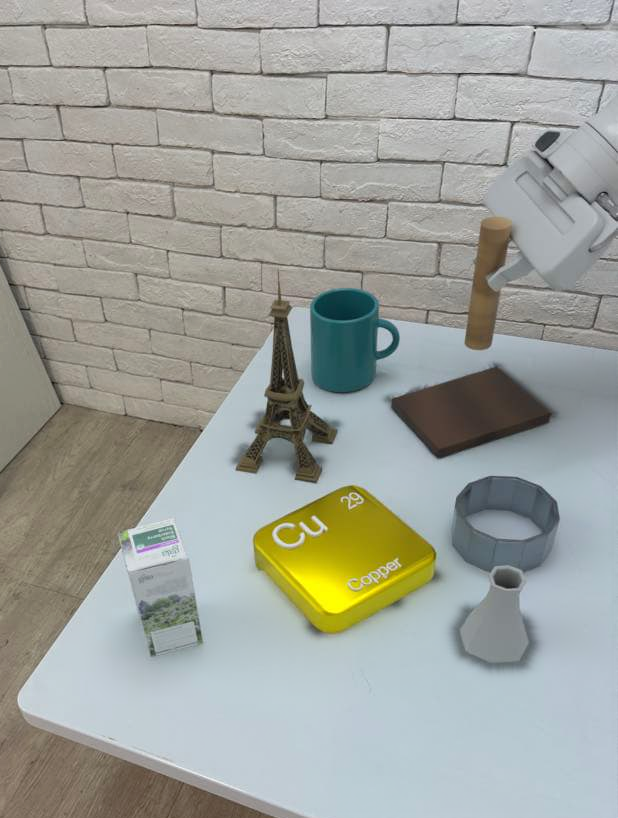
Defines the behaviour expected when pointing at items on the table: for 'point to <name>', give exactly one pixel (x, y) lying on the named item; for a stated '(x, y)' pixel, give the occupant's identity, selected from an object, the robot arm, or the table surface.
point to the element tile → (343, 558)
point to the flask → (498, 619)
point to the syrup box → (162, 586)
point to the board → (469, 411)
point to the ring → (514, 498)
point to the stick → (482, 295)
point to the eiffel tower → (286, 405)
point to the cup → (346, 339)
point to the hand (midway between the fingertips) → (483, 275)
